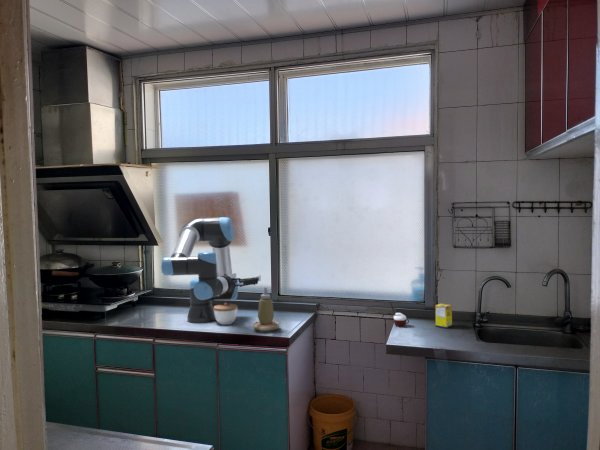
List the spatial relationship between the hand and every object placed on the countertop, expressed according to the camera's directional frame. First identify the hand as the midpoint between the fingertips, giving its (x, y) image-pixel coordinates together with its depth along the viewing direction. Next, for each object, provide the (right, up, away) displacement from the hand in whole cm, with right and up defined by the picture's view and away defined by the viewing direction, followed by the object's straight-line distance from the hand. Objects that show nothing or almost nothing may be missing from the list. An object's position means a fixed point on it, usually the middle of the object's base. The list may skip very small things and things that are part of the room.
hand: (247, 276), depth 217 cm
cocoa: (+75, -27, +13) cm, 81 cm away
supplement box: (+97, -26, +11) cm, 101 cm away
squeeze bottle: (+8, -25, +10) cm, 28 cm away
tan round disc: (+8, -28, +10) cm, 31 cm away
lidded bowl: (-15, -28, +25) cm, 40 cm away
